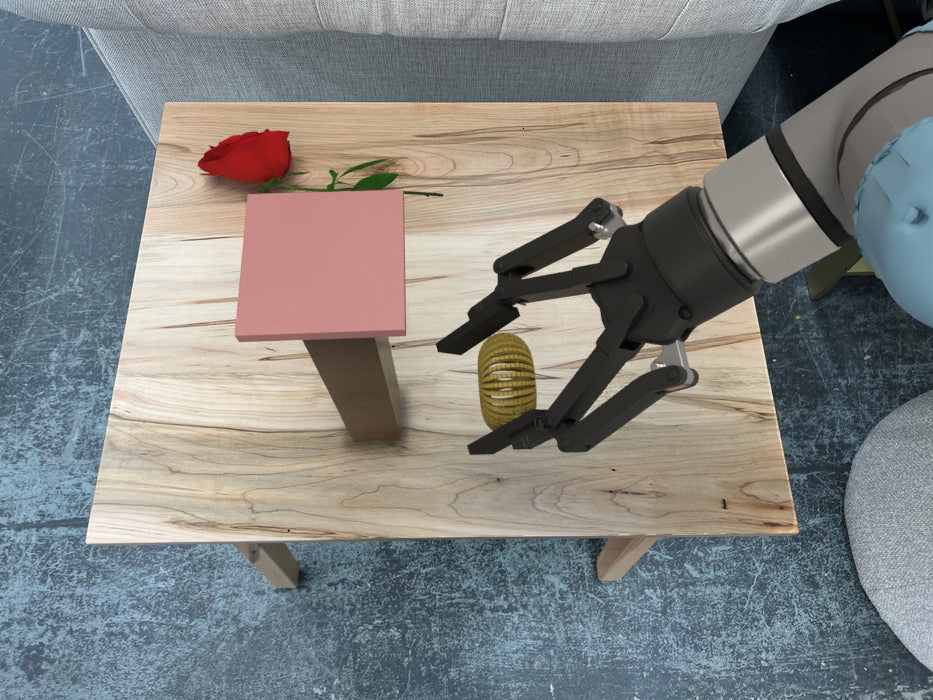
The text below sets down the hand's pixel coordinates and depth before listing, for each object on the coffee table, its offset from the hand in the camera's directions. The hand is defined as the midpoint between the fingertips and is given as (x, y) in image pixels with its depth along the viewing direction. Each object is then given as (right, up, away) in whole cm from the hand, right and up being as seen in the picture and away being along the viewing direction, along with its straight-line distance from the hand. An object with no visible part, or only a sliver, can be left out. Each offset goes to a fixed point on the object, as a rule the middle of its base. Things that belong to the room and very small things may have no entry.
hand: (464, 398), depth 53 cm
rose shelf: (-9, +9, -10) cm, 16 cm away
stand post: (-9, -3, +20) cm, 22 cm away
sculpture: (+3, -1, +4) cm, 5 cm away
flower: (-17, +23, +31) cm, 42 cm away
